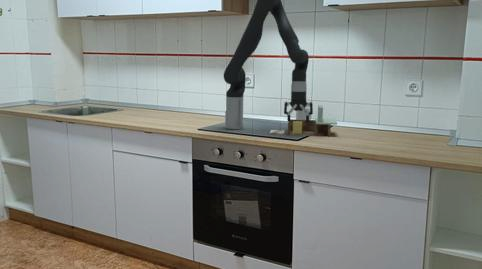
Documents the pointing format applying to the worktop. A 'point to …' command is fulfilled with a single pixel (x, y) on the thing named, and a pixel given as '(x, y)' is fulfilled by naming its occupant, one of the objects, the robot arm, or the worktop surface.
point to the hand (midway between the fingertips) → (298, 122)
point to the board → (305, 129)
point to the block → (297, 127)
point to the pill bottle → (303, 113)
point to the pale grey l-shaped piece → (324, 121)
